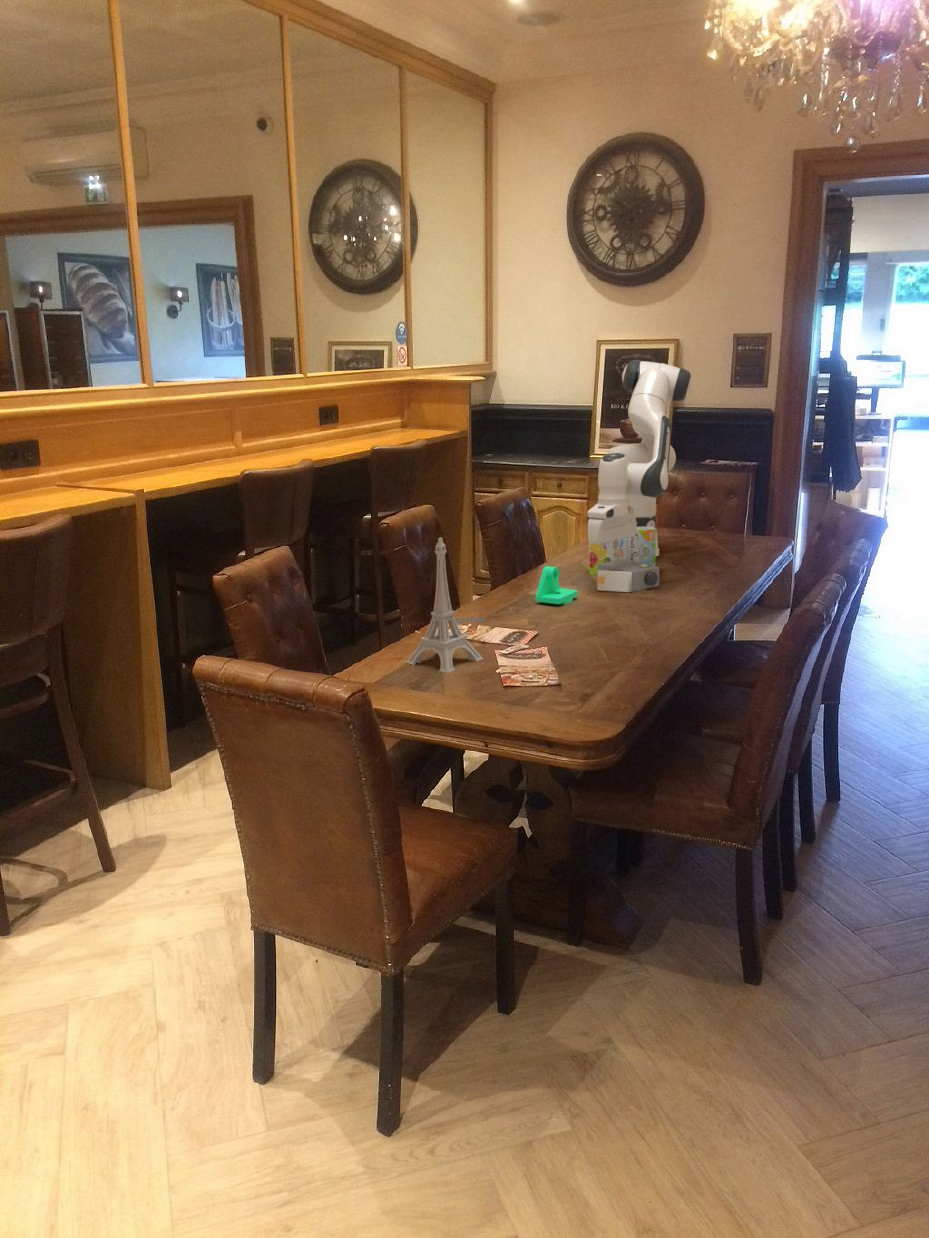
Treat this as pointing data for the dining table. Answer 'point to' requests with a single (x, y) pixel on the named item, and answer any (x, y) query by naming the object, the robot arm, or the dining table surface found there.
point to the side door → (614, 581)
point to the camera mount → (553, 588)
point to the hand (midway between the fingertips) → (612, 554)
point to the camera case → (634, 573)
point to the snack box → (626, 549)
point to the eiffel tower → (443, 623)
